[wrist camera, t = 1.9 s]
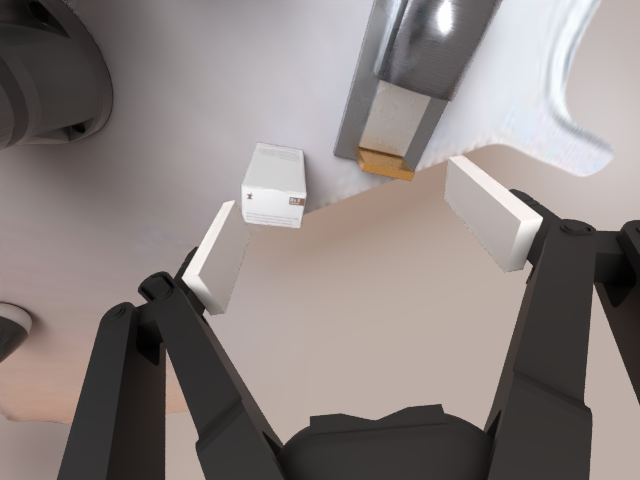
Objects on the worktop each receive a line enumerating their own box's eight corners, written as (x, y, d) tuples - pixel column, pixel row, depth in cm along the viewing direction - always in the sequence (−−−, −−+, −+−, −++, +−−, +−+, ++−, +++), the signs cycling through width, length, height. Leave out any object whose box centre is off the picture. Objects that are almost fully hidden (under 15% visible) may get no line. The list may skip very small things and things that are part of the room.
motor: (333, 152, 33) (340, 181, 27) (398, -90, 21) (440, -142, 14) (410, 168, 35) (433, 199, 29) (511, -43, 23) (591, -70, 16)
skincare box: (255, 172, 34) (238, 226, 25) (256, 139, 32) (237, 185, 22) (301, 179, 35) (300, 233, 26) (306, 147, 33) (307, 194, 23)
